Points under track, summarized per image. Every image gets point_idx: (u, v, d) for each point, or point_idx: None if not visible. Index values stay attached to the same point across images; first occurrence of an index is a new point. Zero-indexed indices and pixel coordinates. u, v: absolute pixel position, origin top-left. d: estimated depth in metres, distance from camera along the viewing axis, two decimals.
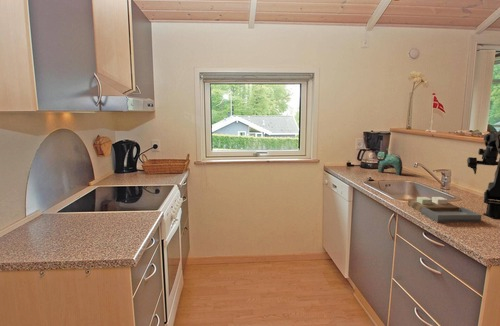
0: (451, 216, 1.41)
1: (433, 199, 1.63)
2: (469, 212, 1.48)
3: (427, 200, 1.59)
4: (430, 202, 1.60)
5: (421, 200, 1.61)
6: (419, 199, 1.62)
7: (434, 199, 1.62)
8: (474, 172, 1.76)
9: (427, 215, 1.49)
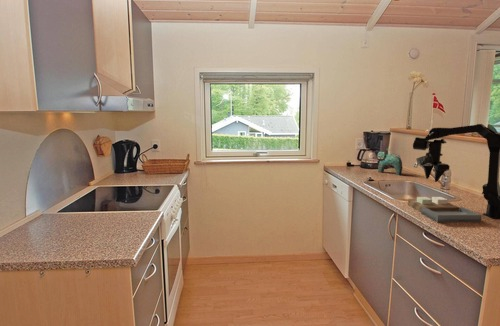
0: (451, 216, 1.41)
1: (433, 199, 1.63)
2: (469, 212, 1.48)
3: (427, 200, 1.59)
4: (430, 202, 1.60)
5: (421, 200, 1.61)
6: (419, 199, 1.62)
7: (434, 199, 1.62)
8: (439, 177, 1.64)
9: (427, 215, 1.49)
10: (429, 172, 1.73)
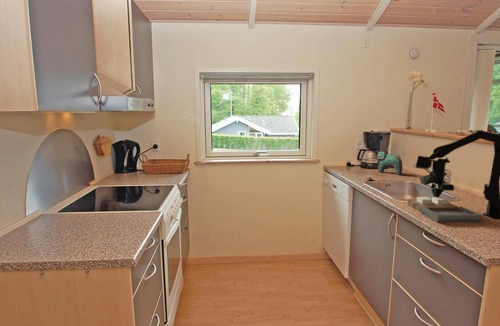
0: (451, 216, 1.41)
1: (433, 199, 1.63)
2: (469, 212, 1.48)
3: (427, 200, 1.59)
4: (430, 202, 1.60)
5: (421, 200, 1.61)
6: (419, 199, 1.62)
7: (434, 199, 1.62)
8: (439, 195, 1.65)
9: (427, 215, 1.49)
10: None
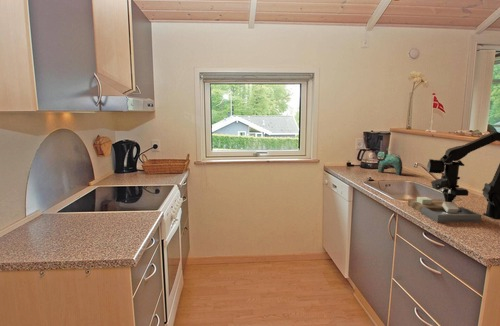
0: (451, 216, 1.41)
1: (444, 205, 1.54)
2: (469, 212, 1.48)
3: (427, 200, 1.59)
4: (430, 202, 1.60)
5: (421, 200, 1.61)
6: (419, 199, 1.62)
7: (445, 205, 1.53)
8: None
9: (427, 215, 1.49)
10: None
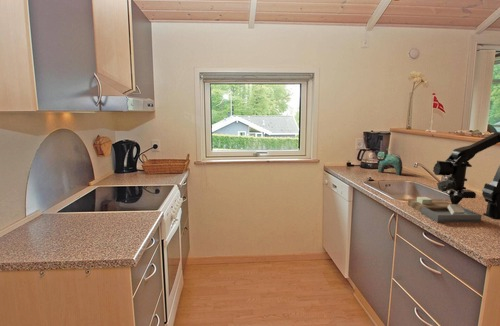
0: (451, 216, 1.41)
1: (449, 207, 1.49)
2: (469, 212, 1.48)
3: (427, 200, 1.59)
4: (430, 202, 1.60)
5: (421, 200, 1.61)
6: (419, 199, 1.62)
7: (450, 208, 1.49)
8: None
9: (427, 215, 1.49)
10: None
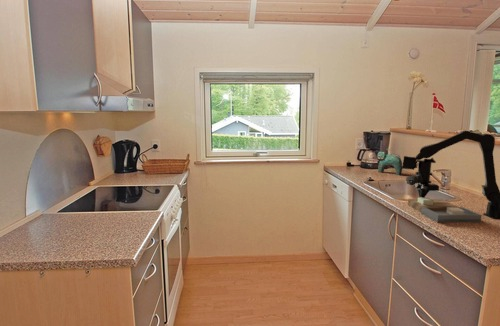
0: (451, 216, 1.41)
1: (448, 210, 1.51)
2: (469, 212, 1.48)
3: (428, 200, 1.59)
4: (431, 203, 1.59)
5: (421, 200, 1.60)
6: (420, 199, 1.61)
7: (449, 210, 1.50)
8: None
9: (427, 215, 1.49)
10: None
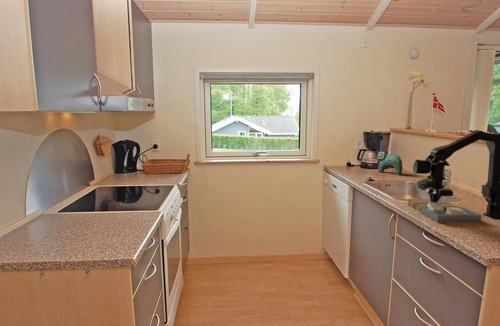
0: (451, 216, 1.41)
1: (448, 210, 1.51)
2: (469, 212, 1.48)
3: (438, 210, 1.49)
4: (441, 211, 1.50)
5: (431, 208, 1.50)
6: (430, 206, 1.51)
7: (449, 210, 1.50)
8: (437, 201, 1.53)
9: (427, 215, 1.49)
10: None
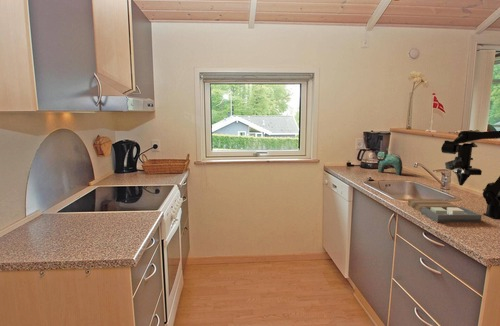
0: (451, 216, 1.41)
1: (448, 210, 1.51)
2: (469, 212, 1.48)
3: (441, 211, 1.47)
4: (445, 213, 1.47)
5: (434, 211, 1.48)
6: (432, 210, 1.49)
7: (449, 210, 1.50)
8: None
9: (427, 215, 1.49)
10: None
